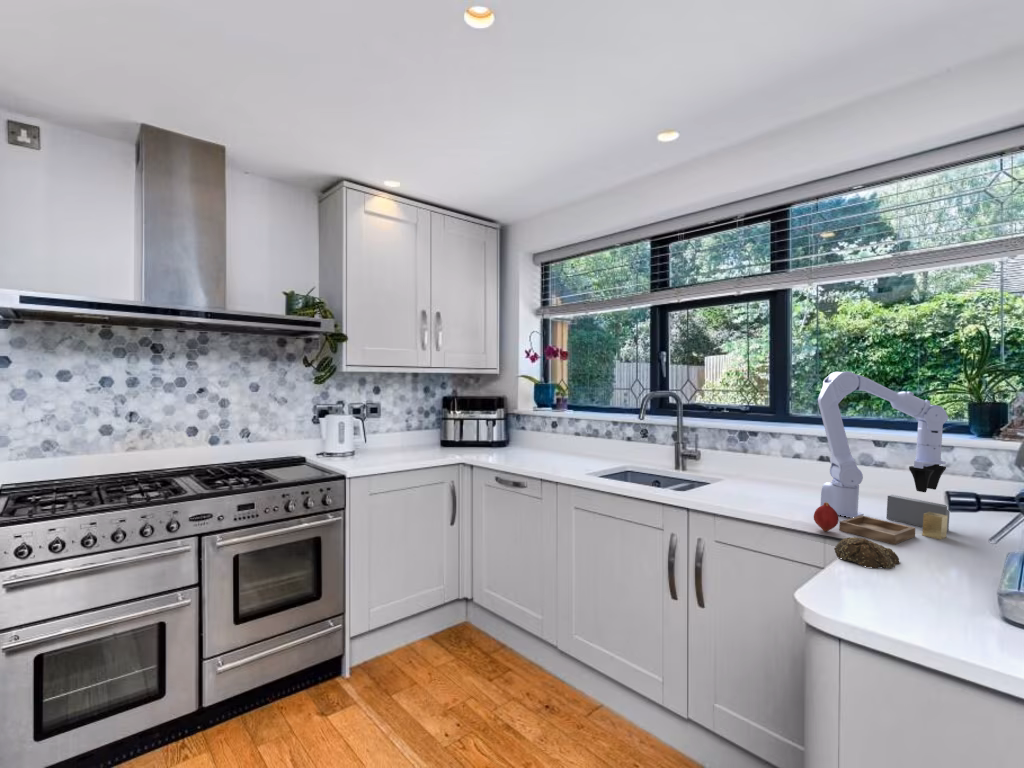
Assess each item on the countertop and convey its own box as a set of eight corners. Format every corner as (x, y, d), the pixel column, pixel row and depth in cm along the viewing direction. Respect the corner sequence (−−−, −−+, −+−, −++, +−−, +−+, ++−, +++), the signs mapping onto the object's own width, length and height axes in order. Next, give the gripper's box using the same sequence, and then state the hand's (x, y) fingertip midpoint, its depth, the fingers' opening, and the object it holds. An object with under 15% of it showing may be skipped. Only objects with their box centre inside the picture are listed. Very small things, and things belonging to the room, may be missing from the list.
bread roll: (841, 546, 128) (842, 527, 128) (902, 561, 119) (903, 540, 119) (826, 558, 120) (827, 537, 119) (890, 575, 111) (891, 552, 110)
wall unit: (886, 518, 154) (887, 495, 154) (891, 517, 156) (892, 494, 156) (944, 532, 142) (946, 507, 142) (948, 530, 144) (950, 505, 144)
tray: (839, 530, 141) (839, 521, 141) (860, 523, 148) (861, 515, 148) (894, 544, 130) (894, 535, 130) (914, 536, 137) (915, 527, 137)
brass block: (922, 535, 139) (923, 513, 139) (928, 533, 141) (929, 511, 141) (940, 539, 135) (942, 517, 135) (946, 537, 138) (947, 515, 137)
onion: (815, 526, 144) (816, 498, 144) (839, 531, 140) (840, 502, 140) (811, 531, 139) (812, 502, 139) (836, 536, 136) (837, 506, 136)
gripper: (936, 448, 144) (933, 496, 145) (954, 445, 152) (952, 490, 153) (906, 444, 150) (904, 490, 150) (926, 442, 158) (923, 485, 158)
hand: (926, 490), depth 152 cm, fingers open, 7 cm apart
